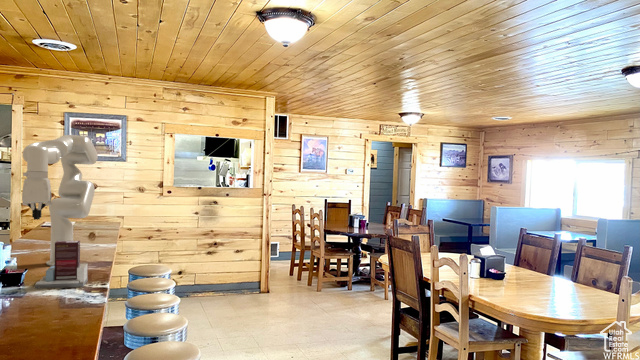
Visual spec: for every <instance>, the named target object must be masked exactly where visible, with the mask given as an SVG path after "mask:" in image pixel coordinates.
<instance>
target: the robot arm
mask: <svg viewBox="0 0 640 360" xmlns="http://www.w3.org/2000/svg"><path fill="white" fill-rule="evenodd" d="M98 157H99V155H98V152H97V149H96V147H95V146H94V143H93V142H92V140H91V139H90V138H89V137H87V136H86V135H78V134H77V135H75V134H65V135H61V136H60V137H57V138H55V139H50V140H49V139H48V140H43V141H37V142H32V143H30V144H27V145H26V146H25V147H24V148H23V151H22V158H23V160H24V161H25V162H26V164H27V165H26V172H22V175H23V177H26V178H24V180H23V184H22V185H23V186H22V192H21V201H22V203H21V204H22V206H26V207H29V208H30V209H31V211H32V213H31V214H32V218H33V221H35V220H36V221H37V220H40V219H41V218H42V210H43V209H44V208H45V207H48V211H49V216H50V217H49V218H50V247H49V249H50V253H49V254H50V255H49V256H50V257H49V260H47V261H46V263H45V264H46V265H47V266H50V267H51V266H53V265H54V264H55V242H57V241H74V225H73V223H72V221H71V220H70V219H85V218H87V217H88V216H89V214H90V211H91V208H92V204H93V200H94V197H95V185H94V183H93V182H91V181H90V180H85V179H84V180H83V173H82V171H81V170H80V169H79V167H77V166H76V165H89V166H91V165H94V164H96V163H97V161H98ZM59 161H60V162H61V166H62V167H61V168H62V170H63V175H62V178H61V181H60V183H59V186H58V192H57V193H58V196H59V197H57V198H53V199H52V187H51V180H50V178H49V167H48V166H49V164H50V165H51V164H52V165H53V164H57V163H58V162H59ZM37 204H38V206H37Z"/></svg>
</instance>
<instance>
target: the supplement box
mask: <svg viewBox="0 0 640 360" xmlns="http://www.w3.org/2000/svg"><path fill="white" fill-rule="evenodd" d="M80 264H81V240H73V241H57V242H55V281H74V280H77V267H78V266H79V265H80Z"/></svg>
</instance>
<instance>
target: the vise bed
mask: <svg viewBox="0 0 640 360" xmlns="http://www.w3.org/2000/svg"><path fill="white" fill-rule="evenodd" d="M88 266H89V263H80V265H79V266H78V267H77V280H74V281H46V275H44V276H42V278H41V279H40V280H38V281H36V283H35V284H34V289H56V288H57V289H59V288H84V287H85V285H86V284H87V282H88V280H89V279H88V278H89V277H88Z"/></svg>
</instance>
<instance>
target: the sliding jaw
mask: <svg viewBox="0 0 640 360" xmlns="http://www.w3.org/2000/svg"><path fill="white" fill-rule="evenodd" d="M45 276H46V281H55V264H54V265H53V266H50V267H48V268H47V269H46V270H45Z"/></svg>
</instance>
